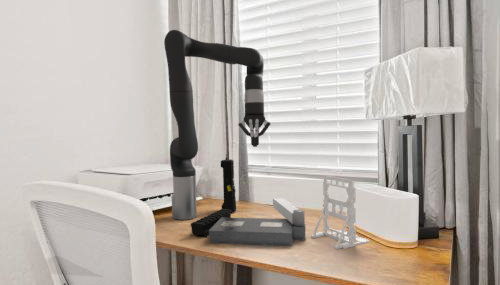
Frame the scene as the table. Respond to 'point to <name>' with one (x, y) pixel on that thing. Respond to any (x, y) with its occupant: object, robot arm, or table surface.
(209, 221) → the rail mount
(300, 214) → the bar
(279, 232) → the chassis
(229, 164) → the portable radio
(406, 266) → the table surface
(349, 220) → the film strip holder
